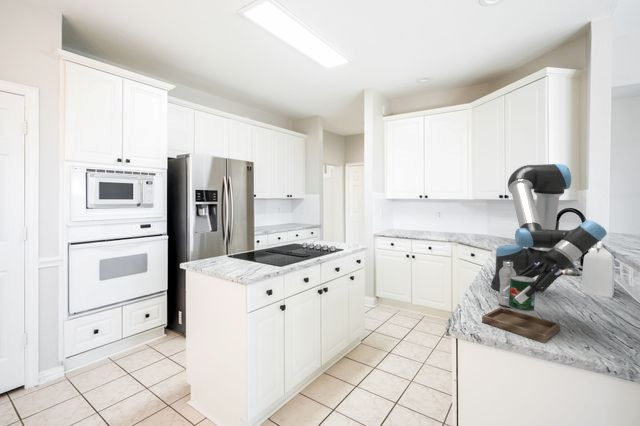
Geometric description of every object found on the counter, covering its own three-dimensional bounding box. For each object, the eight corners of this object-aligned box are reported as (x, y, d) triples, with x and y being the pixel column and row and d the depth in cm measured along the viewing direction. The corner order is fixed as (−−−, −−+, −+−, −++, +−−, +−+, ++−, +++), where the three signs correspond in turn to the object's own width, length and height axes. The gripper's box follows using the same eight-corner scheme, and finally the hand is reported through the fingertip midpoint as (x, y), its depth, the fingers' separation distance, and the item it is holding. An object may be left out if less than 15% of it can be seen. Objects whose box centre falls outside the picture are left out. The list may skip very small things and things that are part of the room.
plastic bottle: (509, 309, 127) (512, 263, 126) (494, 304, 133) (496, 260, 132) (518, 307, 130) (520, 262, 129) (503, 302, 136) (504, 259, 135)
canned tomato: (511, 309, 107) (512, 279, 107) (506, 302, 115) (507, 274, 114) (537, 313, 104) (538, 282, 104) (530, 305, 112) (531, 276, 111)
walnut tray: (482, 322, 114) (482, 316, 113) (500, 312, 123) (500, 307, 123) (544, 343, 98) (544, 336, 97) (560, 330, 107) (560, 323, 107)
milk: (611, 297, 143) (615, 244, 142) (580, 291, 152) (583, 241, 150) (614, 292, 151) (617, 242, 150) (584, 287, 160) (586, 239, 158)
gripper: (591, 270, 96) (535, 315, 99) (551, 257, 117) (505, 295, 120) (574, 253, 97) (518, 298, 100) (537, 243, 117) (492, 281, 120)
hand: (511, 296), depth 110 cm, fingers closed on canned tomato, 8 cm apart
